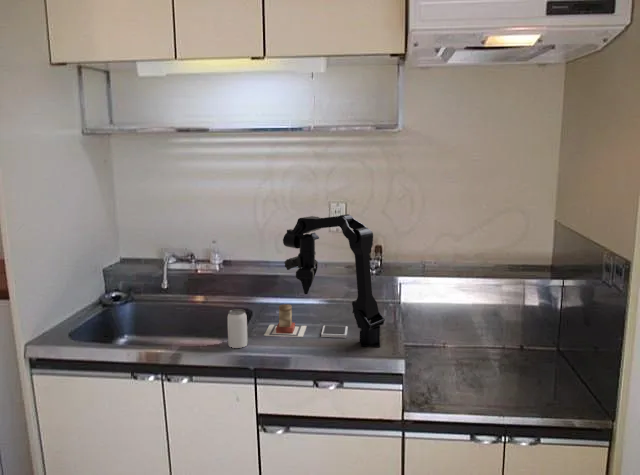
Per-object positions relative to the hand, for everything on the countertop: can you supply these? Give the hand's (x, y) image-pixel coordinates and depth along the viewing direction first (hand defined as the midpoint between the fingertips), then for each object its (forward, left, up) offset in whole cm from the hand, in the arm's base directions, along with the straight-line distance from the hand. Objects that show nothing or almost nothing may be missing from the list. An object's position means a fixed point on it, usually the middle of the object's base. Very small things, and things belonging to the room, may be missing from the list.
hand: (307, 290), depth 194 cm
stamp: (+7, +9, -13) cm, 17 cm away
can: (+21, +24, -13) cm, 35 cm away
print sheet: (+7, +9, -13) cm, 17 cm away
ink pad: (-11, +9, -13) cm, 19 cm away
